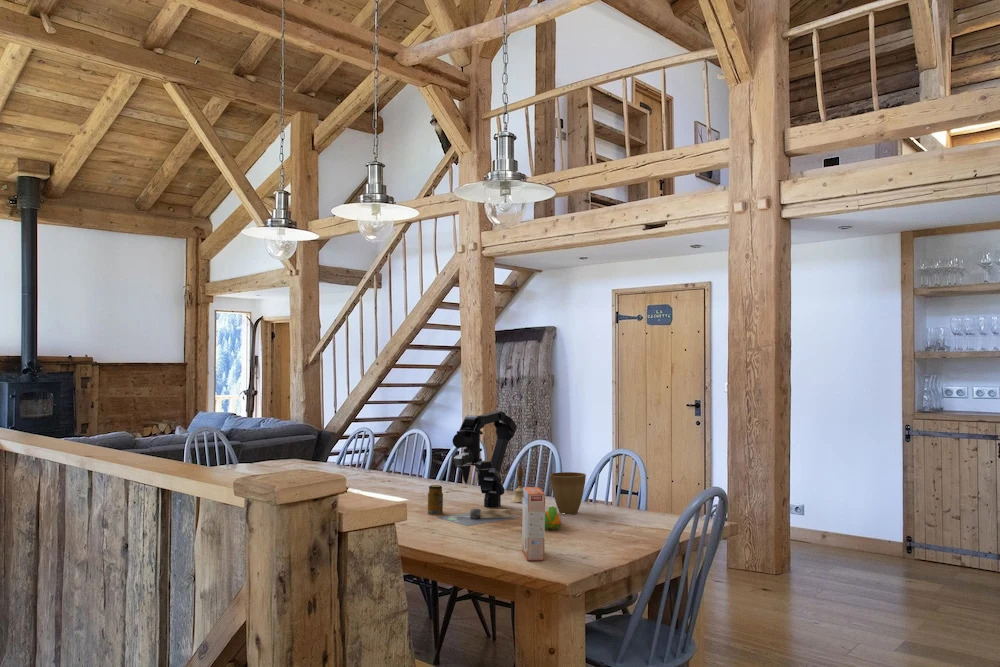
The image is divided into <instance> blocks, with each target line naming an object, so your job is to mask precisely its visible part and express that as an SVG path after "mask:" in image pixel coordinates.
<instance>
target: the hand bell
mask: <svg viewBox="0 0 1000 667" xmlns="http://www.w3.org/2000/svg"><path fill="white" fill-rule="evenodd" d="M523 473H524V470H523V468H522V465H518V467H517V470H516V476H517V488H515V490H514V495H513V498H512V499H511V500H510V502H511V501H513V502H523V486H522V485H523V484H522V482H523V481H522V479H523V477H524V476H523Z"/></svg>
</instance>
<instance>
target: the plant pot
mask: <svg viewBox="0 0 1000 667" xmlns="http://www.w3.org/2000/svg"><path fill="white" fill-rule="evenodd" d="M549 477H550V482H551V484H550V485H551V491H552V494H553V498H554V500H555V503H556V508H557V511H558V512H560V513H565V514H564V515H566V514H571V515H576V514H575V513H577V514H578V512H579V510H580V506H581V504H582V500H583V496H584V491H585V485H586V480H587V478H586V477H587V474H586V473H583V472H577V471H576V472H571V471H567V472H565V471H564V472H563V471H561V472H552V473H550V474H549ZM560 513H559V514H560Z"/></svg>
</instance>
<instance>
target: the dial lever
mask: <svg viewBox="0 0 1000 667" xmlns="http://www.w3.org/2000/svg"><path fill="white" fill-rule="evenodd" d="M469 513H470V516H468V517H450V518H471V519H480V518H493V517H511V515H512V509H511V508H507V509H506V508H503V509H502V508H498V509H497V508H496V509H480V508H472V509H470V511H469Z"/></svg>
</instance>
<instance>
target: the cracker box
mask: <svg viewBox="0 0 1000 667" xmlns="http://www.w3.org/2000/svg"><path fill="white" fill-rule="evenodd" d="M522 488H523V503H522V522H521V525H522V529H521V530H522V531H521V532H522V533H521V535H522V536H521V537H522V539H521V542H522V543H521V551H522V552H523V554H524V557H525V559H526V561H529V562H530V561H531V562H532V561H534V562H535V561H536V562H537V561H539V562H540V561H542V562H543V561H545V548H546V546H545V545H546V543H545V542H546V540H545V537H546V536H545V534H546V532H545V530H546V529H545V513H546V494H545V492H544V491H543V490H542V489H541V487H537V486H522Z"/></svg>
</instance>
